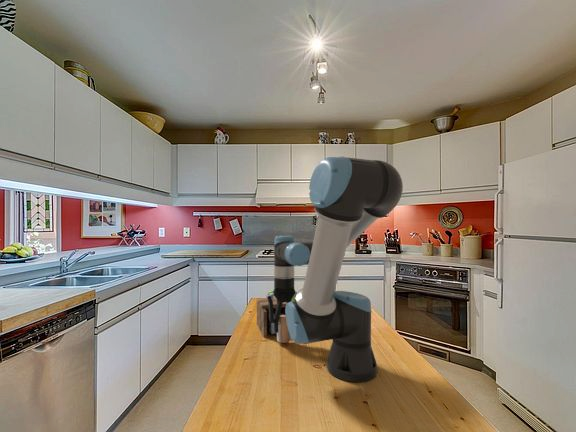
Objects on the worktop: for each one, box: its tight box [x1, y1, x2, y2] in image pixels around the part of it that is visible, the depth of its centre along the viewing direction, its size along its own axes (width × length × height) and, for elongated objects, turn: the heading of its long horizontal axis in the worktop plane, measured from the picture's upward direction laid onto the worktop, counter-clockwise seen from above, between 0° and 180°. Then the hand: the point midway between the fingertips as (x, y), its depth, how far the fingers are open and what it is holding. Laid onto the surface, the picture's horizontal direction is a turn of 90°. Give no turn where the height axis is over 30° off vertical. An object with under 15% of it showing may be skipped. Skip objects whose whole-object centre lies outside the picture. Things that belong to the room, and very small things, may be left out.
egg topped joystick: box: [267, 313, 290, 344], centre depth 113 cm, size 16×6×9 cm, turn 16°
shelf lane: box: [256, 297, 287, 338], centre depth 122 cm, size 15×12×11 cm
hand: (284, 340), depth 108 cm, fingers closed on egg topped joystick, 4 cm apart
